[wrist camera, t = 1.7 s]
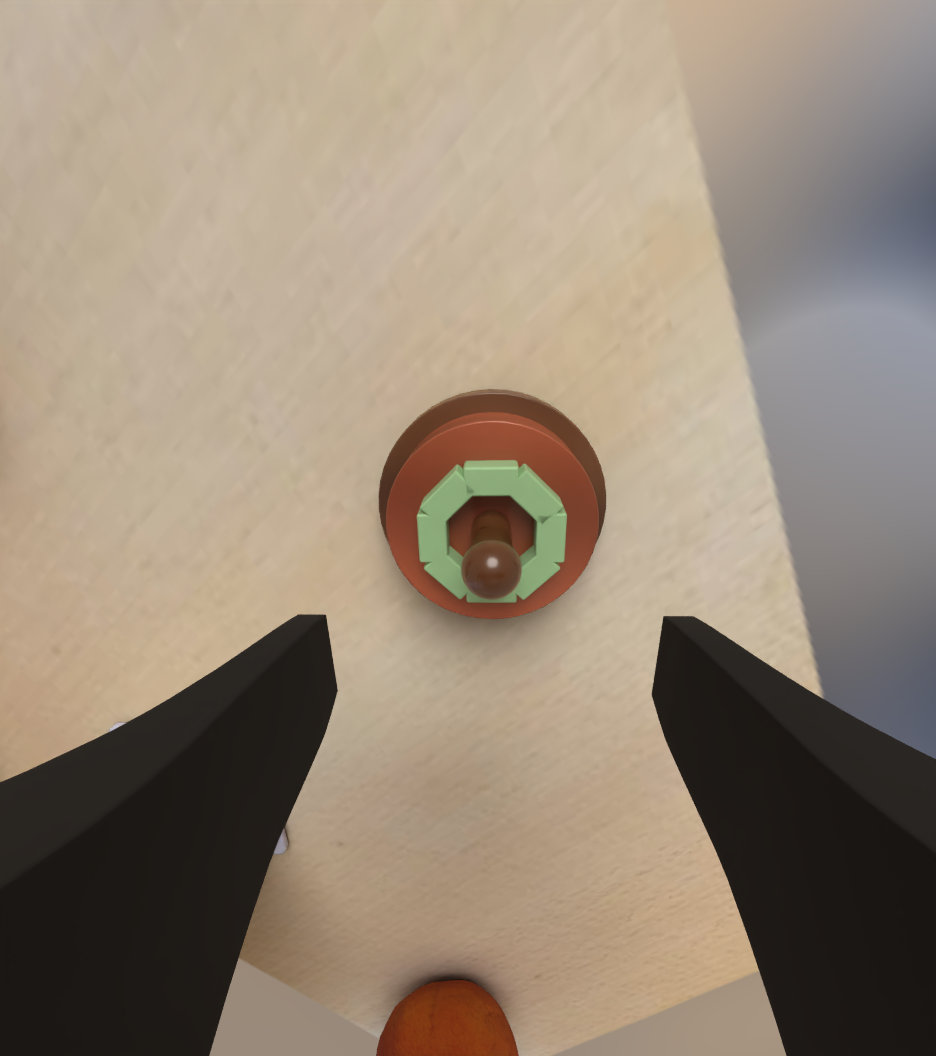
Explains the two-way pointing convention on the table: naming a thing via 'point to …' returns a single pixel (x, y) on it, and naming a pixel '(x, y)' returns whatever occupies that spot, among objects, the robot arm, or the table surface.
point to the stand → (492, 521)
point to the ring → (492, 482)
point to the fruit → (447, 1023)
